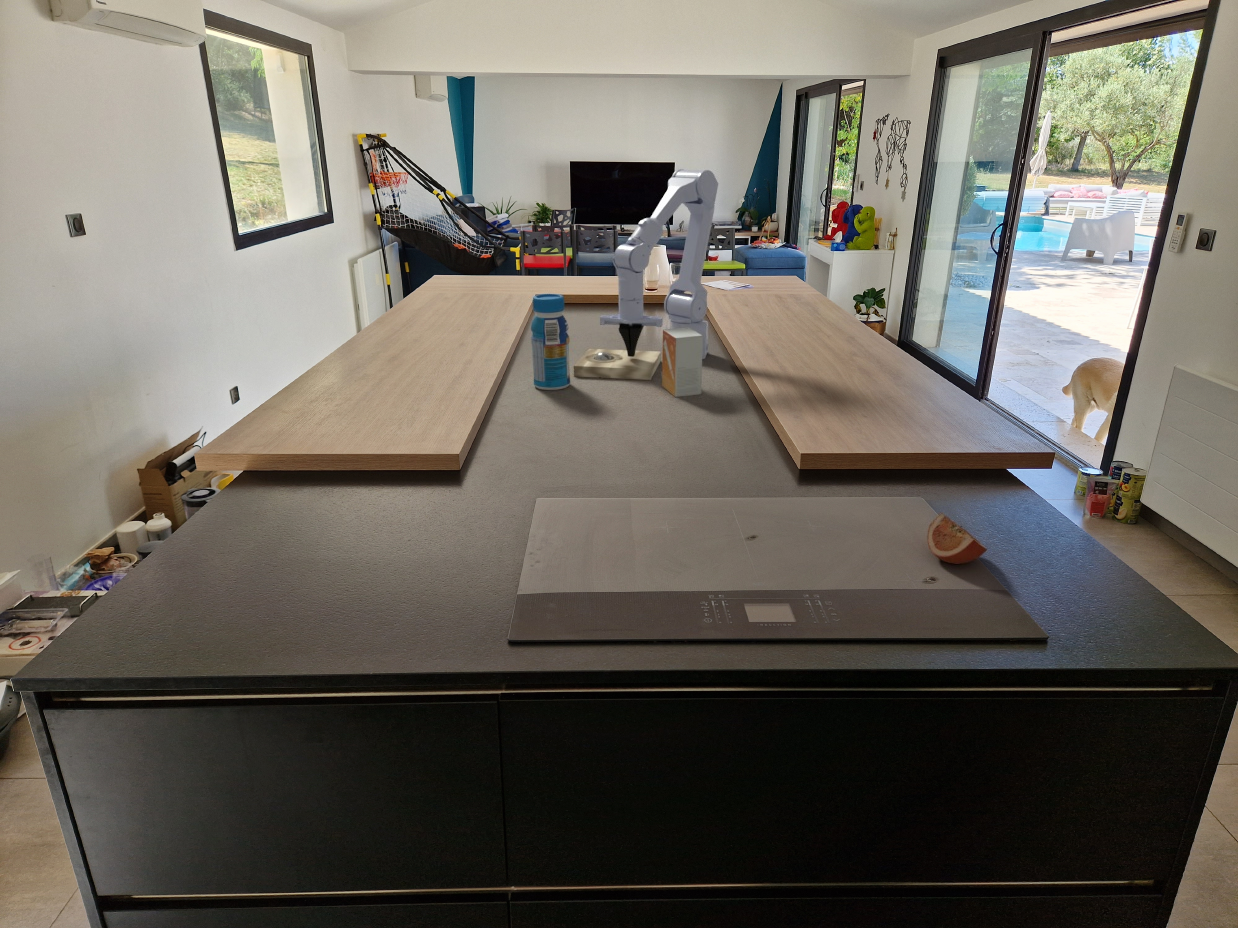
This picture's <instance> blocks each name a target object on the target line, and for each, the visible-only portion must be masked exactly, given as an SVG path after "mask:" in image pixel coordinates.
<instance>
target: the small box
mask: <svg viewBox="0 0 1238 928" xmlns="http://www.w3.org/2000/svg"><path fill="white" fill-rule="evenodd" d="M702 346H703V336H702V335H701V334H699V333H697V332H696V331H694V330H692V329H690V328H675V329H671V328H667V329H663V330H662V355H661V361H662V367H661V368H662V369H661V371H662V372H661V376H662V377H661V382H662V383H661V386H662V388H664V389H665V390H666V391H667V392H669V393H670V395H673V397H675V398H679V397H687V396H696V395H702V382H703V381H702V377H703V374H702V373H703V359H702Z"/></svg>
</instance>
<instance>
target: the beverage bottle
mask: <svg viewBox="0 0 1238 928" xmlns="http://www.w3.org/2000/svg"><path fill="white" fill-rule="evenodd" d="M532 308H533V309H532V310H533V312H534V314H535V316H534V317H533V319H532V322H531V325H530V332H532V335H531V337H530V344H531V353H532V367H533V371H532V372H533V385H534V387H535V388H537V389H539V390H544V391H556V390H557V391H558V390H562V389H566V388H568V387H569V386H570V384H571V377H570V376H571V375H570V346H569V345H570V335H569V334H568V331H569V324H568V321H567V319H566V318H565V316H564V314H563V313H564V312H565V297H564V295H562V294H559V293H558V294H557V293H541V294H536V295H533V297H532Z"/></svg>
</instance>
